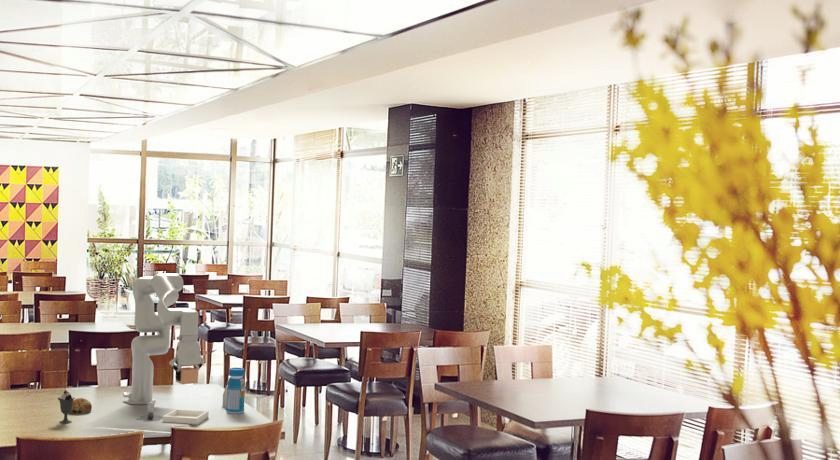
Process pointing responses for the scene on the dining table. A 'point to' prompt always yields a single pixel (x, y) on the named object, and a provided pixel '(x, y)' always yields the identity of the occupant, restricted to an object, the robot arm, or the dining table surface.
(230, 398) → the beverage bottle
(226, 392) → the grey faceted block
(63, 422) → the sundae
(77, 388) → the dining table surface
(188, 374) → the collar
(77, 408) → the bread roll
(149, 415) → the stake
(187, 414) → the tray
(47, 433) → the dining table surface
